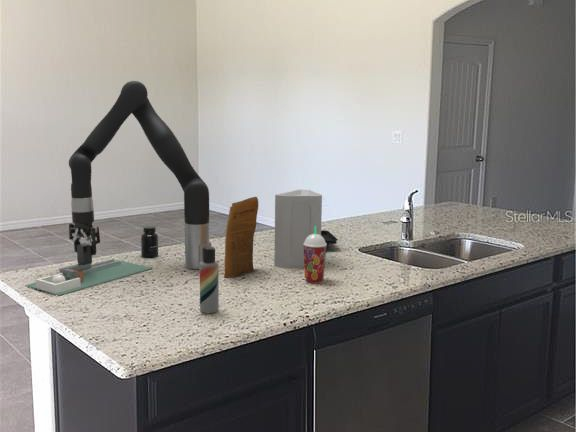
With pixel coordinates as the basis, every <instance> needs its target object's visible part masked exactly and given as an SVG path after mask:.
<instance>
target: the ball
mask: <svg viewBox="0 0 576 432" xmlns="http://www.w3.org/2000/svg"><path fill="white" fill-rule="evenodd" d="M64 281H66V279H65V277H64V276H63V275H60V274H58V275H55V276H54V277H53V278H52V283H55V284H57V283H60V282H64Z"/></svg>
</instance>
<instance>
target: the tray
mask: <svg viewBox="0 0 576 432" xmlns="http://www.w3.org/2000/svg"><path fill="white" fill-rule="evenodd" d="M321 236H322V237H323V238H324V240H325V242H326V243H327V245H326V247H327V246H329V245H336V244H337V241H339V239H338V238H337V237H336V236H334V234H333V233H331V232H330V231H329V230H322V229H321Z"/></svg>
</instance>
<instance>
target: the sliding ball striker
mask: <svg viewBox="0 0 576 432" xmlns="http://www.w3.org/2000/svg"><path fill="white" fill-rule="evenodd" d="M89 245H90V244H89V243H88V242H87V243H86V242H83V243H80V244H78V245H77V252H76V255H77V256H76V257H77V258H76V259H77V263H76V264H73V265H69V266H65V267H61V268H59V273H63V275H65V274H68V275H71V276H74V279H75V278H80V282H82V281H84V273H83V271H81V270H85V269H89V268H92V264H93V255H90V247H89Z"/></svg>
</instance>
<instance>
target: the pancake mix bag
mask: <svg viewBox="0 0 576 432" xmlns="http://www.w3.org/2000/svg"><path fill="white" fill-rule="evenodd" d="M258 211H259V199H258V197H257V196H253V197H252V196H251V197H248V198H246V199H243V200H240V201H237V202H232V203H231V206H229V212H228V215H227V216H228V217H227V222H226V228H225V238H224V239H225V240H224V274H223V277H224V278H236V276H237V277H239V276H241V275H244V274H247V273H250V272H253V271H254V237H255V232H256V229H257V217H258V213H259V212H258Z"/></svg>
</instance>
